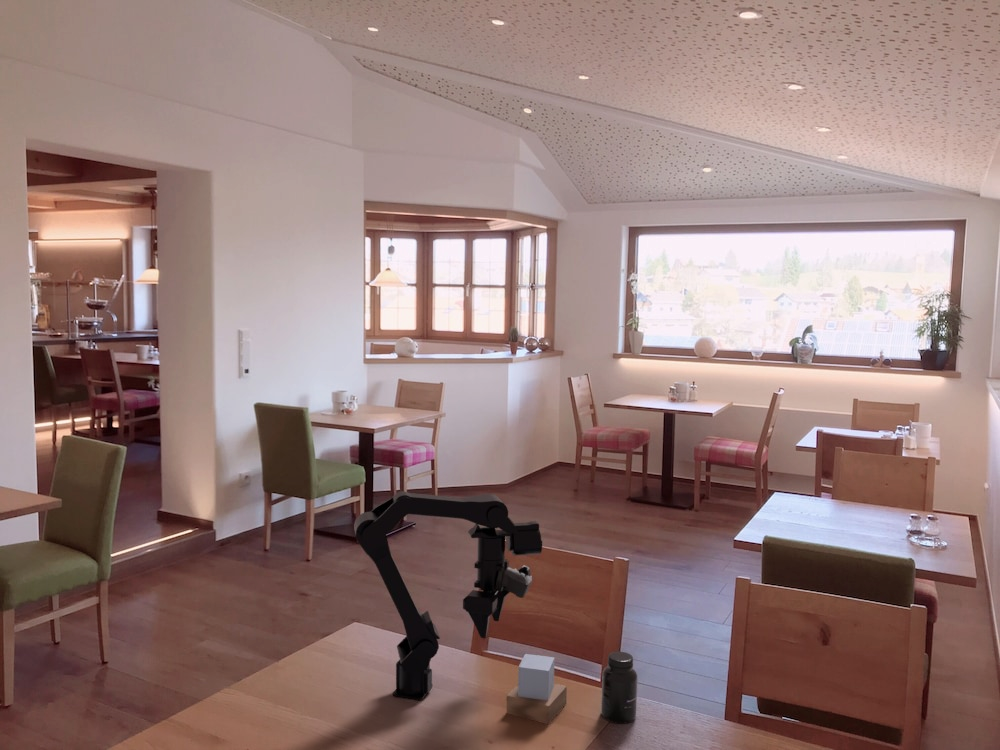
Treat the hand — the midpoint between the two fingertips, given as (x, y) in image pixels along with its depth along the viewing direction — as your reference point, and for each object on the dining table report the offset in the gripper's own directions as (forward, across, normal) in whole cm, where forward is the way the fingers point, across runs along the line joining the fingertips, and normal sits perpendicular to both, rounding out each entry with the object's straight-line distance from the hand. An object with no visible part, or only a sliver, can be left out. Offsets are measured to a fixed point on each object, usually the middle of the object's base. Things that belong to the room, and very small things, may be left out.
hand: (490, 629), depth 168 cm
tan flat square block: (+12, -7, -12) cm, 18 cm away
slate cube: (+8, -7, -12) cm, 16 cm away
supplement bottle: (+12, -4, -28) cm, 31 cm away
